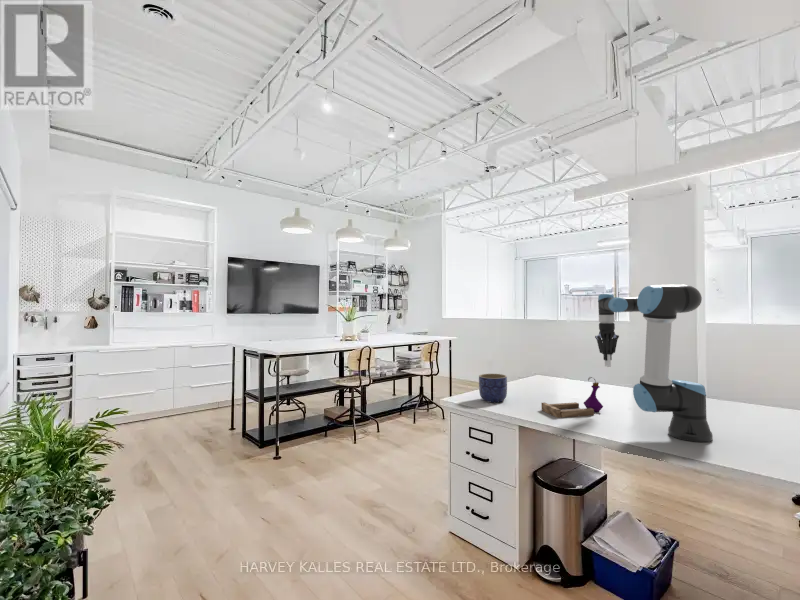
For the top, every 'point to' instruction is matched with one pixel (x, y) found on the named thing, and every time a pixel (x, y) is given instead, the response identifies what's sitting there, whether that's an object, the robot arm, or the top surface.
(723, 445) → the top surface
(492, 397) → the planter
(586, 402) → the purple potion bottle
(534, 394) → the top surface
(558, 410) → the u rest
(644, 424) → the top surface
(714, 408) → the top surface
